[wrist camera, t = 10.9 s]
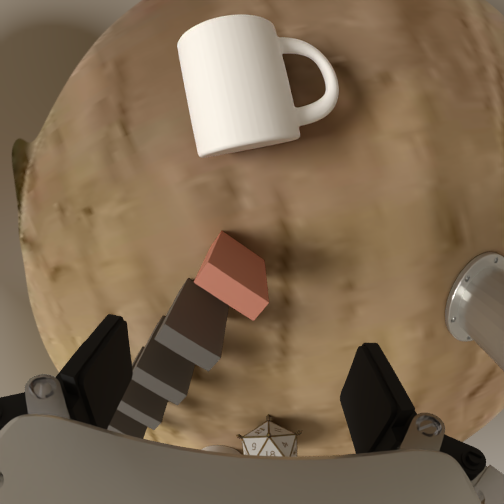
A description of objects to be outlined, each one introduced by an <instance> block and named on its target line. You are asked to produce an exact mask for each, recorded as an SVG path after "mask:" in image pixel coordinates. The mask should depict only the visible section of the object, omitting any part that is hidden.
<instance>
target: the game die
mask: <svg viewBox="0 0 504 504" xmlns="http://www.w3.org/2000/svg"><path fill="white" fill-rule="evenodd" d="M266 418H267V421H266V422H265V423H263V424H262V425H260V426H259V427H257V428H255V429H254V430H252V431H251V432H249V433H248V434H246V435H244V436H241V435H240V434H239V435H236V436H237V438H239V439H240V438H241V439H242V447H243V455H257V456H284V457H297V435H299V434H301V432H302V431H298V432H297V433H294V432H292V431H290V430H288V429H286V428H284V427H281V426H279V425H277V424H275V423H273V422H271V421H270V416H269V415H267V417H266Z"/></svg>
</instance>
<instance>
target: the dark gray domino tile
mask: <svg viewBox="0 0 504 504" xmlns="http://www.w3.org/2000/svg"><path fill="white" fill-rule="evenodd" d="M164 319H165V316H162V318H161V319H160V321H159V322H158V324H157V325H156V327H155V329H154V331H153V333H152V334H151V336H150V338H149V340H148V342H147V344H146V346H145V348H144V350H143V351H142V353H141V355H140V357H139V359H138V361H137V363H136V365H135V367H134V369H133V376H132V380H134V381H135V382H137V383H139V384H140V385H142V386H144V387H145V388H147V389H149V390H151V391H152V392H154V393H156V394H158V395H159V396H161V397H163V398H165V399H167V400H168V401H170V402H172V403H174V404H176V405H178V404H179V403H180V402H181V401H182V400H183V399H184V398H185V397H186V396H187V393H188V389H189V385H190V381H191V377H192V374H193V370H194V366H195V364H194V363H193V362H191V361H189V360H187V359H186V358H184V357H182V356H181V355H179V354H177V353H176V352H174V351H172V350H171V349H169V348H167V347H166V346H164V345H163V344H161V343H159V342H158V341H156V340H155V337H156V335H157V333H158V331H159V329H160V327H161V325H162V323H163V321H164Z"/></svg>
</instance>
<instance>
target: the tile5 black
mask: <svg viewBox="0 0 504 504" xmlns="http://www.w3.org/2000/svg"><path fill="white" fill-rule="evenodd" d="M146 429H147V426H145V425H144V424H142V423H140V422H138V421H136V420H134V419H133V418H131V417H129V416H127V415H126V414H124V413H122V412H121V411H119V410H116V412H115V414H114V416H113V418H112V420H111V422H110V424H109V426H108V429H107V430H110V431H114V432H118V433H121V434H125V435H129V436H133V437H137V438H141V439H143V437H144V435H145V432H146Z"/></svg>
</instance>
